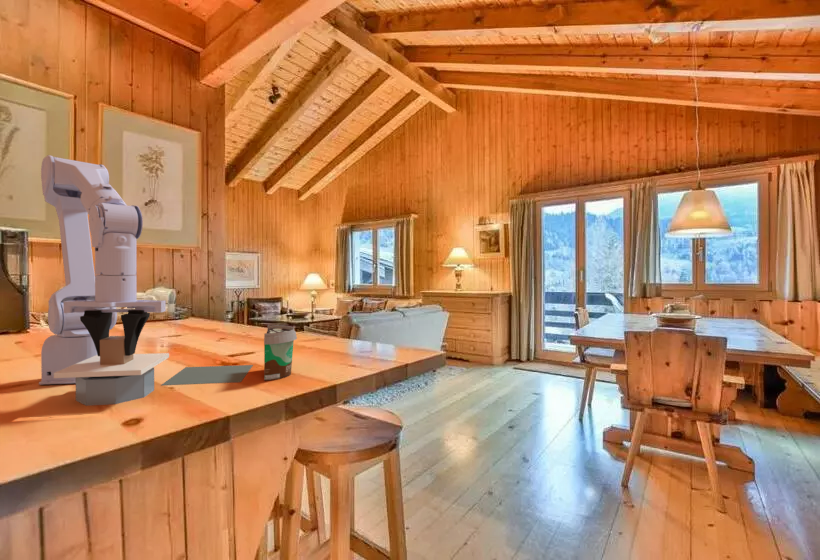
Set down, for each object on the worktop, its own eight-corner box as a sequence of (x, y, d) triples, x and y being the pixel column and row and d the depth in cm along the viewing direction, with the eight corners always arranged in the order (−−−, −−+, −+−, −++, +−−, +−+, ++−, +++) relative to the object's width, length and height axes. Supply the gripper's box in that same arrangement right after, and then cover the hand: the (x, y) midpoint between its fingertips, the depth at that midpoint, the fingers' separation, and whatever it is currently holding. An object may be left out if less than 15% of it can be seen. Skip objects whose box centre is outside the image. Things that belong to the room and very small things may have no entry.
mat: (160, 387, 75) (160, 385, 75) (185, 369, 89) (185, 367, 89) (240, 384, 78) (240, 381, 78) (253, 367, 92) (253, 364, 92)
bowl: (64, 409, 63) (64, 380, 63) (99, 390, 73) (99, 365, 73) (136, 405, 65) (136, 378, 65) (160, 387, 75) (160, 363, 75)
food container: (297, 383, 79) (297, 332, 79) (263, 385, 77) (264, 333, 77) (296, 368, 91) (296, 324, 91) (267, 370, 89) (267, 325, 89)
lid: (53, 378, 62) (53, 345, 62) (96, 359, 74) (96, 332, 73) (141, 375, 64) (140, 344, 64) (169, 357, 76) (168, 331, 76)
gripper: (51, 275, 63) (51, 361, 63) (154, 276, 66) (154, 358, 66) (77, 274, 70) (78, 352, 70) (170, 275, 73) (170, 350, 73)
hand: (116, 354), depth 69 cm, fingers closed on lid, 3 cm apart
